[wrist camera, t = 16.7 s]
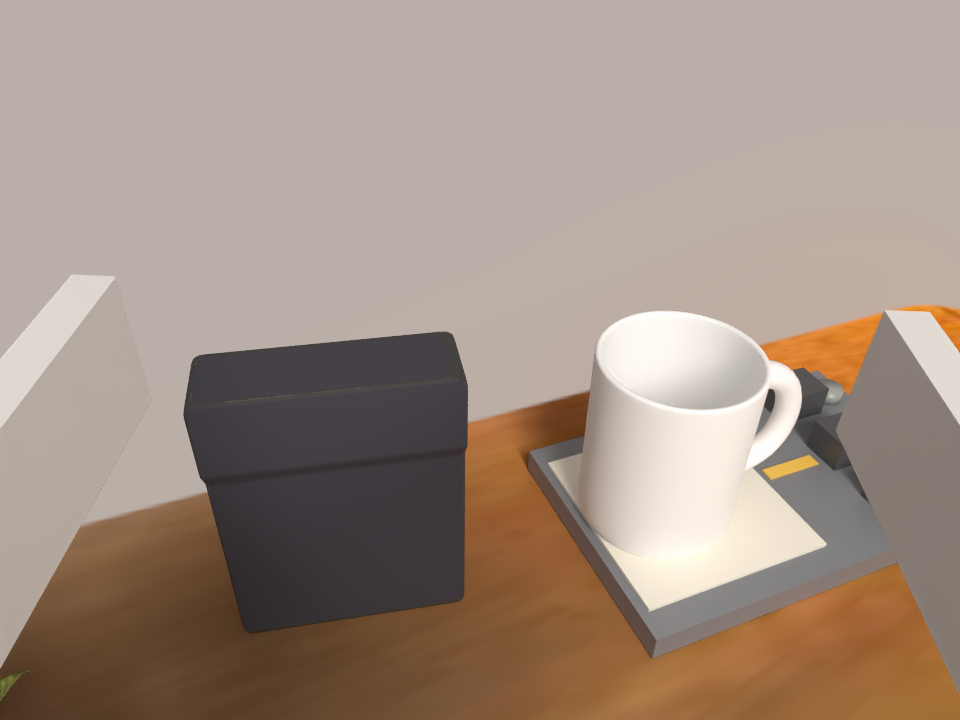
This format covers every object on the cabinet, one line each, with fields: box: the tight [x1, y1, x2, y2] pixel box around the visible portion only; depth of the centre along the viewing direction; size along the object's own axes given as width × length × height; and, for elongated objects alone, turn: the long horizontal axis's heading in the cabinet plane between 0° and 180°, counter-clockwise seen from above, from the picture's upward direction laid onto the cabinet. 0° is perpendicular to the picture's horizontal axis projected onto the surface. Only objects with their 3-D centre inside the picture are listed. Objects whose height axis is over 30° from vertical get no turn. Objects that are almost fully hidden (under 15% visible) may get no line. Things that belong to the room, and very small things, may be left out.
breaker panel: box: [528, 368, 897, 659], centre depth 46 cm, size 22×14×4 cm, turn 113°
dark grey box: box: [184, 332, 468, 633], centre depth 37 cm, size 11×4×15 cm, turn 101°
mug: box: [579, 311, 802, 560], centre depth 41 cm, size 12×8×10 cm
